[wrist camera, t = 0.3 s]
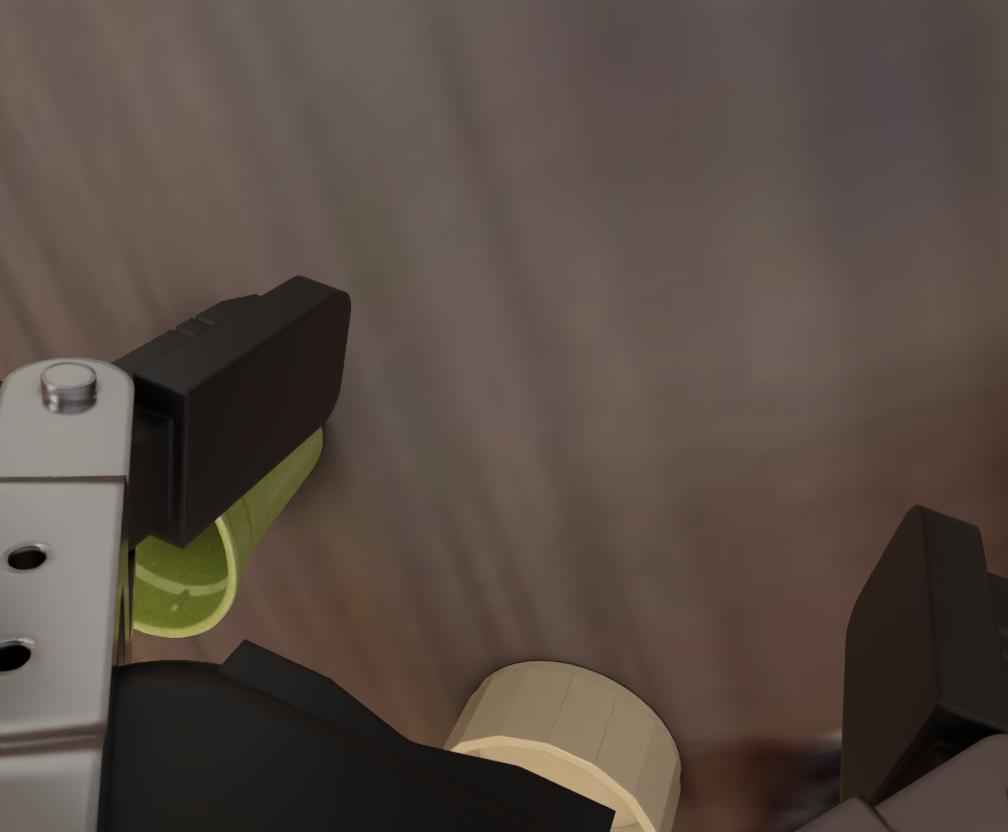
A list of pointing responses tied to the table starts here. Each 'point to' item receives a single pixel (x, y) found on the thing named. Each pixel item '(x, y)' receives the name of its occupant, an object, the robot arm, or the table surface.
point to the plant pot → (213, 555)
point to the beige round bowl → (576, 739)
